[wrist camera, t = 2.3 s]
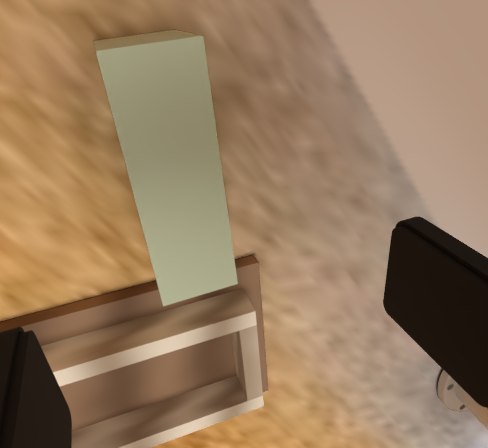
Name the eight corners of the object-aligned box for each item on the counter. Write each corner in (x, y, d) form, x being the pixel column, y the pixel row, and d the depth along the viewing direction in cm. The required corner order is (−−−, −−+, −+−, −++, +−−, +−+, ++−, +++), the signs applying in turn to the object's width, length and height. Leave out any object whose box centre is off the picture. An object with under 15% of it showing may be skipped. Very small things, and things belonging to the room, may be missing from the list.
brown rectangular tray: (253, 254, 28) (272, 283, 25) (263, 380, 35) (280, 415, 32) (-73, 341, 23) (-95, 389, 20) (10, 469, 30) (2, 520, 27)
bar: (174, 29, 20) (203, 35, 15) (208, 231, 26) (237, 283, 21) (92, 40, 19) (95, 50, 14) (147, 247, 25) (163, 306, 20)
